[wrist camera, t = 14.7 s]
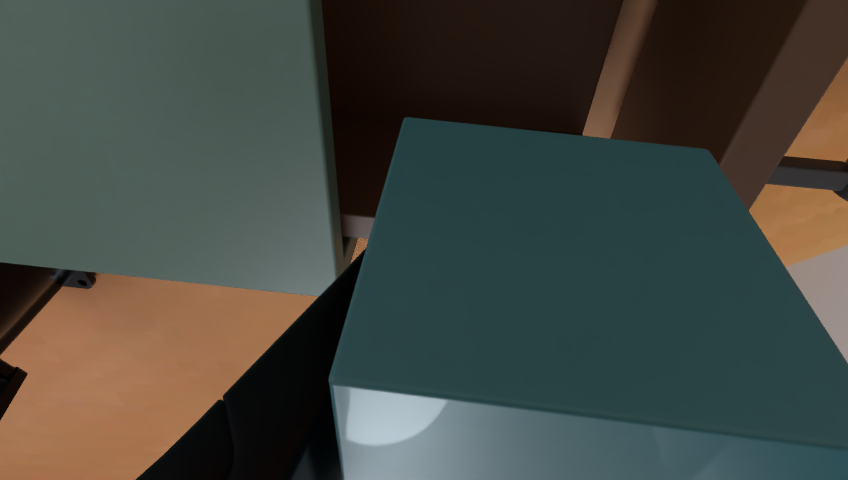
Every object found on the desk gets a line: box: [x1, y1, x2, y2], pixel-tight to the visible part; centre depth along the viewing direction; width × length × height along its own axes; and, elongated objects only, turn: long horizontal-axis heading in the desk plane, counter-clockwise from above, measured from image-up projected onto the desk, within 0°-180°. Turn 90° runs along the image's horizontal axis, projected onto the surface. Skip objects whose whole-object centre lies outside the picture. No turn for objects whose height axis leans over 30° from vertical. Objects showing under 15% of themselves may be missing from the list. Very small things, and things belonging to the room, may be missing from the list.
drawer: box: [321, 0, 848, 239], centre depth 12 cm, size 17×11×7 cm, turn 87°
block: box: [329, 117, 848, 480], centre depth 7 cm, size 5×5×5 cm
